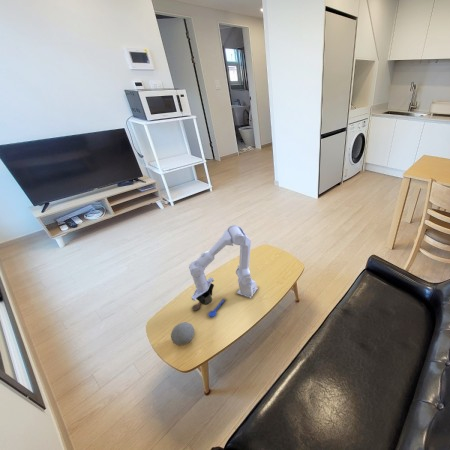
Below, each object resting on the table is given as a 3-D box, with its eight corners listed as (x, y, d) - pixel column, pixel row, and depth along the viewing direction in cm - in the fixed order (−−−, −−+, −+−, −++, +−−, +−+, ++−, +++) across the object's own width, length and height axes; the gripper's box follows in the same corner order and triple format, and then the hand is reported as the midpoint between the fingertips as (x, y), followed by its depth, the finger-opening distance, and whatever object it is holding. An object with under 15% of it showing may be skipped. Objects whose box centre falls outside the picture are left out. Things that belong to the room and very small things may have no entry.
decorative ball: (174, 353, 110) (167, 341, 104) (174, 334, 118) (168, 322, 112) (197, 344, 113) (191, 332, 108) (195, 327, 121) (190, 315, 115)
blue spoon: (221, 299, 135) (221, 298, 135) (226, 300, 134) (226, 300, 134) (207, 316, 126) (207, 315, 126) (213, 318, 125) (212, 317, 125)
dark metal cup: (214, 298, 130) (212, 291, 127) (207, 306, 126) (205, 299, 123) (206, 295, 132) (204, 288, 129) (199, 303, 128) (197, 296, 125)
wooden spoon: (206, 293, 139) (205, 292, 138) (211, 295, 138) (210, 294, 137) (191, 309, 130) (190, 308, 129) (196, 311, 128) (196, 310, 128)
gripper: (204, 270, 128) (209, 287, 135) (183, 289, 116) (191, 307, 124) (214, 273, 125) (219, 290, 133) (195, 294, 114) (201, 311, 122)
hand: (206, 299), depth 128 cm, fingers closed on dark metal cup, 5 cm apart
